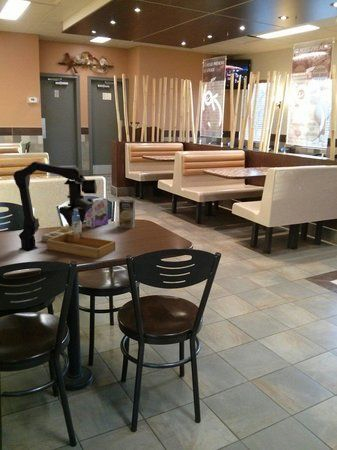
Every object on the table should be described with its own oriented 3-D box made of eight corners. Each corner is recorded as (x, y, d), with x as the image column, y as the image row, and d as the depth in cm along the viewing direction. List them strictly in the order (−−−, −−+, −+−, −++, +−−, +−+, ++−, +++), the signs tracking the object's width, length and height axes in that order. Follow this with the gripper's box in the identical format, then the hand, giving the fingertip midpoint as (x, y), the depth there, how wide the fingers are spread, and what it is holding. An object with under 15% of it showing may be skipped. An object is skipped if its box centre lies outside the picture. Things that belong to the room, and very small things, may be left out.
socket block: (56, 243, 213) (56, 237, 213) (42, 240, 217) (41, 235, 217) (75, 235, 227) (75, 230, 226) (61, 233, 231) (61, 228, 231)
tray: (115, 251, 204) (115, 240, 202) (98, 260, 190) (98, 248, 189) (66, 243, 216) (66, 232, 215) (47, 250, 203) (46, 240, 201)
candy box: (92, 228, 245) (91, 201, 241) (85, 226, 248) (84, 200, 244) (108, 223, 255) (108, 198, 251) (102, 222, 259) (101, 197, 255)
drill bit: (78, 241, 200) (77, 224, 197) (72, 240, 201) (71, 222, 199) (83, 239, 203) (83, 222, 201) (77, 238, 205) (76, 220, 202)
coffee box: (118, 227, 247) (118, 201, 243) (120, 225, 253) (120, 199, 249) (133, 228, 246) (133, 202, 242) (135, 225, 252) (135, 200, 248)
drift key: (67, 236, 225) (67, 228, 224) (60, 235, 227) (60, 226, 226) (69, 236, 226) (69, 227, 225) (62, 234, 228) (62, 226, 227)
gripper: (76, 198, 185) (77, 230, 189) (100, 192, 202) (100, 222, 206) (57, 195, 190) (59, 227, 194) (81, 190, 206) (83, 219, 210)
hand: (76, 224), depth 201 cm, fingers open, 9 cm apart
